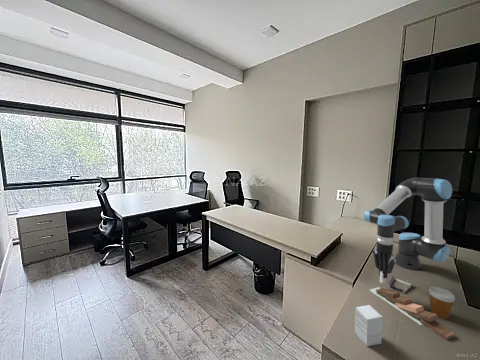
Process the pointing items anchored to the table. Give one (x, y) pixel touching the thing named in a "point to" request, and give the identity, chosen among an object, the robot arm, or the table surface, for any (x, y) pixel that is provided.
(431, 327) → the domino
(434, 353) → the table surface
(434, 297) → the disposable coffee cup
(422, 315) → the domino
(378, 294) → the runner
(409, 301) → the domino
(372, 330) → the supplement box
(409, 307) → the domino
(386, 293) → the domino
